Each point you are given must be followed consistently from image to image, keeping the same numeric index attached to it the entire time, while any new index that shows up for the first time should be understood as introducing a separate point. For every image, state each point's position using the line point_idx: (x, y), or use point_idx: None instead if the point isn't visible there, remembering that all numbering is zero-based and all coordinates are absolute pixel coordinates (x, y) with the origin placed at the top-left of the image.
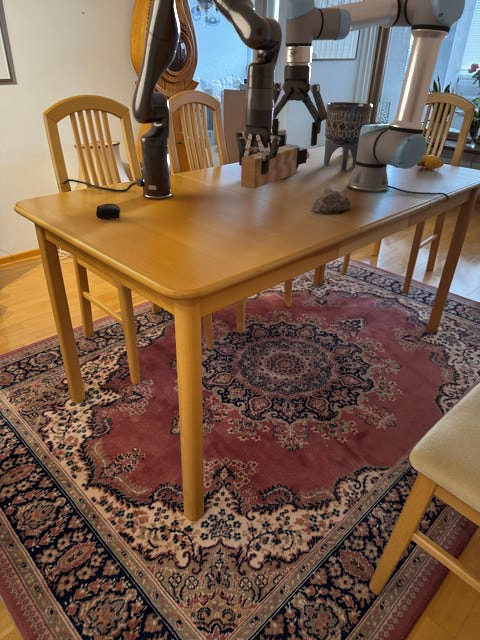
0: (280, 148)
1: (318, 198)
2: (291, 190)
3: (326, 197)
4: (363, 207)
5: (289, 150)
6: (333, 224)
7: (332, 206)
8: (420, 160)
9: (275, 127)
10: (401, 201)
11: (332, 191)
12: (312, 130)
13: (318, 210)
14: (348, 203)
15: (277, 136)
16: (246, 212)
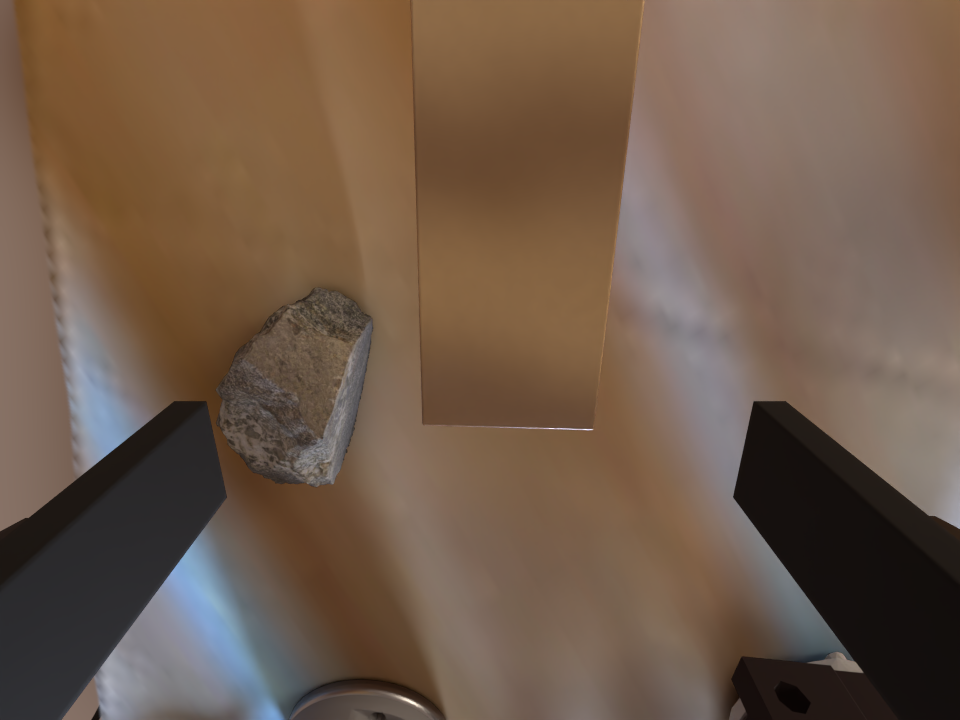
0: (560, 238)
1: (325, 335)
2: (625, 552)
3: (267, 334)
4: (227, 497)
5: (417, 226)
6: (166, 168)
7: (256, 335)
8: None
9: (861, 561)
10: (167, 643)
11: (277, 419)
12: (55, 523)
13: (319, 290)
14: (218, 416)
15: (760, 522)
16: (663, 50)
